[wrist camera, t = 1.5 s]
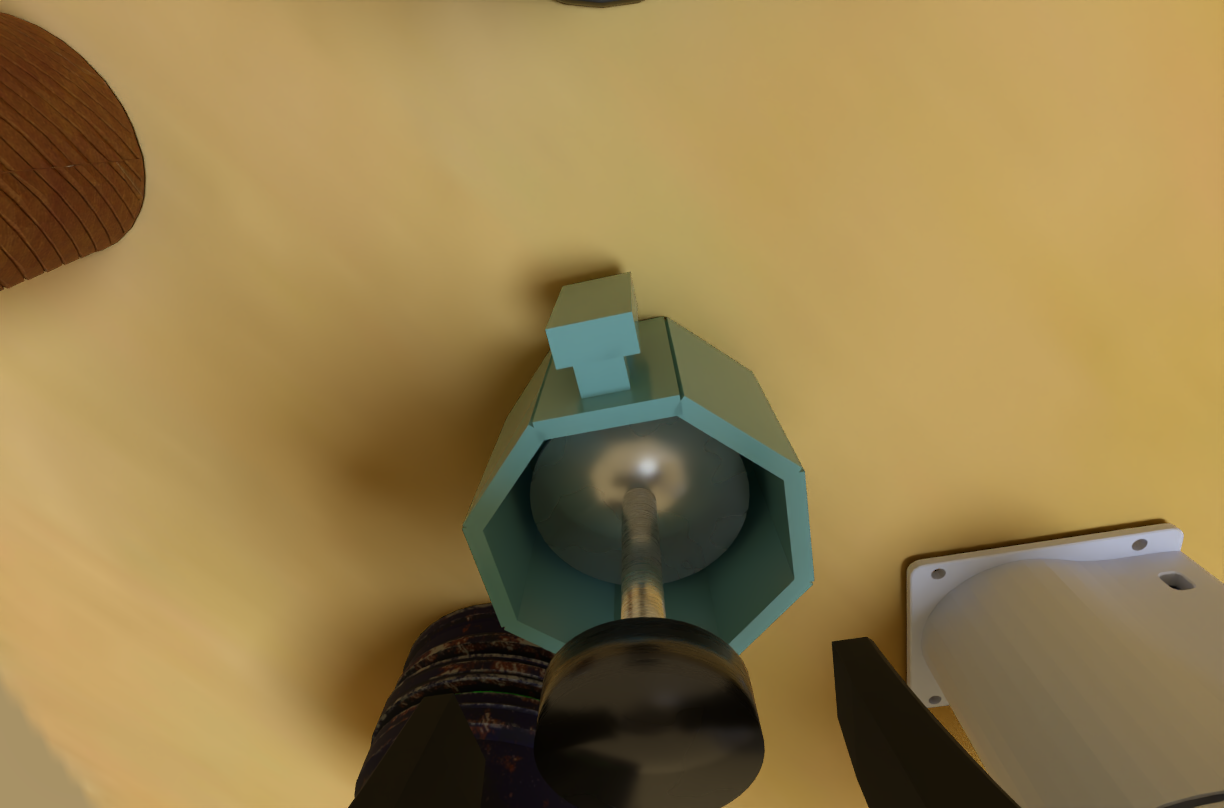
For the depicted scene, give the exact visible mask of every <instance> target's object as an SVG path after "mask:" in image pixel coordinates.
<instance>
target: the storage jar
mask: <svg viewBox="0 0 1224 808" xmlns="http://www.w3.org/2000/svg"><path fill="white" fill-rule="evenodd" d="M504 628H505V627H501V625H500V622H499V620H498V617H497V615H496V612H495V610H494V607H493V605H492V603H489V604H482V605H475V606H471V607H468V608H464V609H461V610H457V611H455V612H453V613H451V614H448V615H446V616H444V617H442V618H441V619H439V620H438V621H436V622H434V623H433V624H431V625H430V626H429V627H428V628H427V629H426V630H425V631H424V632H423V633H422V634H421V635H420V636H419V637H418V639H417V640H416V642H415V643H414V644H413V646H412V649H411V651H410V654H409V656H408V658H407V661H406V663H405V666H404V669H403V674H402V675H401V677H400V678H399V680H398V683H397V685H396V687H395V690H394V691H393V692H392V694H391V695H390V697H389V698H388V699H387V702H386V704H385V707H384V709H383V711H382V714H381V716H380V719H379V721H378V723H377V726H376V728H375V731H374V733H373V735H372V742H371V748H370V750H369V752H368V755H367V757H366V759H365V762H364V764H363V767H362V769H361V772H360V774H359V777H358V779H357V782H356V787H355V797H356V796H357V794H358V793H359V791H360V790H361V789H362V787H363V786H364V784H365V783H366V781H367V780H368V779H369V777H370V776H371V774H372V773H373V771H374V770H375V768H376V767H377V765H378V764H379V762H380V761H381V759H382V758H383V757H384V755H385V754H386V752H387V751H388V749H389V748H390V746H391V745H392V743H393V742H394V740H395V739H396V737H397V736H398V734H399V733H400V731H401V730H402V728H403V727H404V725H405V724H406V722H407V721H408V719H409V718H410V716H411V715H412V714H413V712H414V711H415V709H416V708H417V706H418V705H419V703H420V702H421V701H422V699H423V698H424V697H428V696H436V695H443V694H450V693H454V695H455V697H456V699H457V701H458V704H459V706H460V708H461V710H462V712H463V714H464V716H465V718H466V720H467V722H468V724H469V726H470V729H471V731H472V733H473V735H474V737H475V739H476V741H477V743H478V745H479V747H480V749H481V751H482V753H483V756H484V758H485V760H486V761H485V771H484V780H483V789H482V798H481V805H480V808H578V807H576V806H574V805H573V804H571V803H569V802H568V801H566V800H565V799H563V798H562V797H561V796H559V795H558V794H557V793H556V792H555V791H554V790H553V789H552V788H551V787H550V786H549V785H548V784H547V783H546V781H545V780H544V779H543V777H542V776H541V774H540V772H539V770H538V768H537V765H536V762H535V758H534V738H535V732H536V725H537V718H538V712H539V705H540V698H541V692H542V685H543V679H544V675H545V672H546V669H547V667H548V665H549V663H550V661H551V660H552V658H553V657H554V656H555V653H553V652H551V651H548V650H546V649H544V648H542V647H540V646H538V645H536V644H534V643H531V642H529V641H527V640H525V639H523V638H521V637H519V636H516V635H514V634H512V633H510V632H508V631H506V630H504Z"/></svg>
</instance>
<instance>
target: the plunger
mask: <svg viewBox="0 0 1224 808" xmlns="http://www.w3.org/2000/svg"><path fill="white" fill-rule="evenodd" d="M749 496H750V494H749V482H748V477H747V473H746V469H745V466H744V464H743V461H742V459H741V456H740V454H739V453H738V452H736V451H734V450H733V449H731V448H729V447H728V446H726V445H724V444H723V443H721V442H719V441H718V440H716V439H714V438H713V437H711V436H709V435H708V434H706V433H704V432H703V431H701V430H699V429H698V428H696V427H695V426H693V425H691V424H690V423H688V422H686V421H685V420H683V419H681V418H680V417H678V416H673V417H668V418H662V419H657V420H651V421H646V422H640V423H635V424H629V425H624V426H619V427H613V428H608V429H602V430H597V431H591V432H586V433H580V434H575V435H569V436H564V437H558V438H553V439H548V441H547V442H546V443H545V445H544V447H543V449H542V450H541V452H540V454H539V456H538V459H537V462H536V464H535V468H534V471H533V476H532V480H531V486H530V503H531V510H532V514H533V518H534V521H535V523H536V526H537V528H538V530H539V532H540V534H541V535H542V537H543V539H544V540H545V542H546V543H547V544H548V545H549V547H550V548H551V549H552V550H553V551H554V552H555V553H556V554H557V555H558V556H559V557H560V558H561V559H562V560H564V561H565V562H566V563H568V564H569V565H570V566H572V567H573V568H575V569H577V570H579V571H580V572H582V573H584V574H586V575H589V576H591V577H593V578H596V579H599V580H602V581H606V582H610V583H615V584H620V585H621V619H620V620H615V621H610V622H607V623H604V624H600V625H597V626H595V627H593V628H590V629H588V630H586V631H584V632H582V633H580V634H579V635H577V636H575V637H574V638H572V639H571V640H570V641H568V642H567V643H566V644H565V645H564V646H563V647H562V648H561V649H560V650H559V651H558V652H557V653H556V654H555V656H554V657H553V658H552V660H551V661H550V663H549V665H548V667H547V669H546V672H545V675H544V679H543V685H542V692H541V698H540V705H539V712H538V718H537V725H536V732H535V738H534V758H535V762H536V765H537V768H538V770H539V772H540V774H541V776H542V777H543V779H544V780H545V781H546V783H547V784H548V785H549V786H550V787H551V788H552V789H553V790H554V791H555V792H556V793H557V794H558V795H559V796H561V797H562V798H563V799H565V800H566V801H568V802H569V803H571V804H573V805H574V806H576V807H578V808H721V807H723V806H725V805H726V804H728V803H730V802H731V801H733V800H734V799H736V798H737V797H738V796H740V795H741V794H742V793H743V792H744V791H745V790H746V789H747V788H748V787H749V786H750V785H751V783H752V782H753V781H754V780H755V778H756V776H757V775H758V773H759V771H760V769H761V766H762V763H763V759H764V752H765V750H764V739H763V735H762V730H761V726H760V722H759V717H758V713H757V708H756V704H755V699H754V695H753V691H752V686H751V682H750V678H749V674H748V671H747V669H746V667H745V664H744V662H743V661H742V659H741V658H740V657H739V655H738V654H737V653H736V652H735V650H734V649H733V648H732V647H731V646H730V645H729V644H727V643H726V642H725V641H723V640H722V639H721V638H720V637H718V636H716V635H714V634H713V633H711V632H709V631H707V630H705V629H703V628H701V627H698V626H696V625H693V624H689V623H686V622H683V621H678V620H673V619H668V618H666V613H665V601H664V589H663V583H668V582H673V581H676V580H679V579H682V578H685V577H687V576H690V575H692V574H694V573H696V572H698V571H700V570H702V569H703V568H705V567H707V566H708V565H710V564H711V563H712V562H714V561H715V560H716V559H718V558H719V557H720V556H721V555H722V554H723V553H724V552H725V551H726V550H727V549H728V548H729V546H730V545H731V544H732V543H733V541H734V540H735V538H736V537H737V535H738V534H739V532H740V530H741V528H742V526H743V523H744V521H745V518H746V515H747V511H748V506H749Z"/></svg>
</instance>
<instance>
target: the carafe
mask: <svg viewBox="0 0 1224 808" xmlns="http://www.w3.org/2000/svg"><path fill="white" fill-rule="evenodd" d="M545 331H546V334H547V338H548V342H549V345H550V350H549V352H548V354H547V355H546V357H545V358H544V360H543V362H542V363H541V365H540V366H539V368H538V369H537V371H536V373H535V374H534V376H533V377H532V379H531V380H530V382H529V384H528V385H527V387H526V388H525V390H524V392H523V393H522V395H521V396H520V398H519V399H518V401H517V403H516V404H515V406H514V407H513V409H512V410H511V412H510V414H509V415H508V417H507V419H506V421H505V423H504V426H503V428H502V431H501V433H500V436H499V438H498V440H497V443H496V445H495V448H494V450H493V452H492V455H491V457H490V460H489V462H488V465H487V467H486V469H485V472H484V474H483V477H482V479H481V482H480V484H479V486H478V489H477V491H476V494H475V496H474V499H473V501H472V503H471V506H470V508H469V511H468V513H467V516H466V518H465V520H464V523H463V525H462V526H463V528H462V530H463V533H464V535H465V538H466V540H467V543H468V545H469V548H470V550H471V553H472V555H473V558H474V560H475V563H476V565H477V568H478V570H479V573H480V575H481V578H482V580H483V583H484V585H485V587H486V590H487V592H488V595H489V597H490V600H491V602H492V605H493V607H494V610H495V612H496V615H497V617H498V620H499V622H500V625H501V627H505V628H504V630H506V631H508V632H510V633H512V634H514V635H516V636H519V637H521V638H523V639H525V640H527V641H529V642H531V643H534V644H536V645H538V646H540V647H542V648H544V649H546V650H548V651H551V652H553V653H555V654H556V653H557V652H558V651H559V650H560V649H561V648H562V647H563V646H564V645H565V644H566V643H567V642H568V641H570V640H571V639H572V638H574V637H575V636H577V635H579V634H580V633H582V632H584V631H586V630H588V629H590V628H593V627H595V626H597V625H600V624H604V623H607V622H610V621H615V620H620V619H621V585H620V584H615V583H610V582H606V581H602V580H599V579H596V578H593V577H591V576H589V575H586V574H584V573H582V572H580V571H579V570H577V569H575V568H573V567H572V566H570V565H569V564H568V563H566V562H565V561H564V560H562V559H561V558H560V557H559V556H558V555H557V554H556V553H555V552H554V551H553V550H552V549H551V548H550V547H549V545H548V544H547V543H546V542H545V540H544V539H543V537H542V535H541V534H540V532H539V530H538V528H537V526H536V523H535V521H534V518H533V514H532V510H531V503H530V486H531V480H532V476H533V471H534V468H535V464H536V462H537V459H538V456H539V454H540V452H541V450H542V449H543V447H544V445H545V443H546V442H547V441H548V439H553V438H558V437H564V436H569V435H575V434H580V433H586V432H591V431H597V430H602V429H608V428H613V427H619V426H624V425H629V424H635V423H640V422H646V421H651V420H657V419H662V418H668V417H673V416H678V417H680V418H681V419H683V420H685V421H686V422H688V423H690V424H691V425H693V426H695V427H696V428H698V429H699V430H701V431H703V432H704V433H706V434H708V435H709V436H711V437H713V438H714V439H716V440H718V441H719V442H721V443H723V444H724V445H726V446H728V447H729V448H731V449H733V450H734V451H736V452H738V453H739V454H740V456H741V459H742V461H743V464H744V466H745V469H746V473H747V477H748V482H749V494H750V496H749V506H748V511H747V515H746V518H745V521H744V523H743V526H742V528H741V530H740V532H739V534H738V535H737V537H736V538H735V540H734V541H733V543H732V544H731V545H730V546H729V548H728V549H727V550H726V551H725V552H724V553H723V554H722V555H721V556H720V557H719V558H718V559H716V560H715V561H714V562H712V563H711V564H710V565H708V566H707V567H705V568H703V569H702V570H700V571H698V572H696V573H694V574H692V575H690V576H687V577H685V578H682V579H679V580H676V581H673V582H668V583H663V589H664V601H665V613H666V618H668V619H673V620H678V621H683V622H686V623H689V624H693V625H696V626H698V627H701V628H703V629H705V630H707V631H709V632H711V633H713V634H714V635H716V636H718V637H720V638H721V639H722V640H723V641H725V642H726V643H727V644H729V645H730V646H731V647H732V648H733V649H734V650H735V652H736V653H737V654H738V655H740V654H741V653H742V652H743V651H744V650H745V649H746V648H747V647H748V646H749V645H750V644H751V643H752V642H753V641H754V640H755V639H756V638H757V637H759V636H760V635H761V634H762V633H763V632H764V631H765V630H766V629H767V628H768V627H769V626H770V625H771V624H772V623H773V622H774V621H775V620H776V619H777V618H778V617H779V616H780V615H782V614H783V613H784V612H785V611H786V610H787V609H788V608H789V607H790V606H791V605H792V604H793V603H794V602H795V601H796V600H797V599H798V598H799V597H800V596H801V595H802V594H803V593H805V592H806V591H807V590H808V589H809V588H810V587H811V586H812V585H813V583H812V581H814V570H813V559H812V548H811V537H810V525H809V514H808V503H807V492H806V481H805V471H804V469H803V467H802V465H801V463H800V462H799V460H798V458H797V456H796V454H795V452H794V450H793V448H792V446H791V444H790V442H789V441H788V439H787V437H786V435H785V433H784V431H783V429H782V427H781V425H780V423H779V421H778V420H777V418H776V416H775V414H774V412H773V410H772V408H771V406H770V404H769V402H768V400H767V399H766V397H765V395H764V393H763V391H762V389H761V387H760V385H759V383H758V381H757V380H756V378H755V376H754V374H753V372H752V371H750V370H749V369H747V368H746V367H744V366H743V365H741V364H739V363H738V362H736V361H735V360H733V359H732V358H730V357H729V356H727V355H725V354H724V353H722V352H721V351H719V350H718V349H716V348H715V347H713V346H711V345H710V344H708V343H707V342H705V341H704V340H702V339H701V338H699V337H698V336H696V335H694V334H693V333H691V332H690V331H688V330H687V329H685V328H684V327H682V326H680V325H679V324H677V323H676V322H674V321H673V320H671V319H670V318H668V317H667V318H666V319H665V320H664V316H662V317H657V318H652V319H647V320H643V321H638V308H637V301H636V297H635V292H634V287H633V282H632V277H631V272H627V273H623V274H618V275H613V276H609V277H604V278H599V279H594V280H590V281H585V282H580V283H576V284H571V285H566V286H562V289H561V291H560V294H559V296H558V299H557V301H556V304H555V306H554V309H553V311H552V314H551V316H550V319H549V321H548V324H547V326H546V329H545Z"/></svg>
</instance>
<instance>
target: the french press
mask: <svg viewBox="0 0 1224 808" xmlns="http://www.w3.org/2000/svg"><path fill="white" fill-rule="evenodd" d="M556 1H559V2H562V3H565V4H571V5H582V6H592V7H609V6H617V5H624V4H631V3H638V2H641V1H644V0H556Z"/></svg>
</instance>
